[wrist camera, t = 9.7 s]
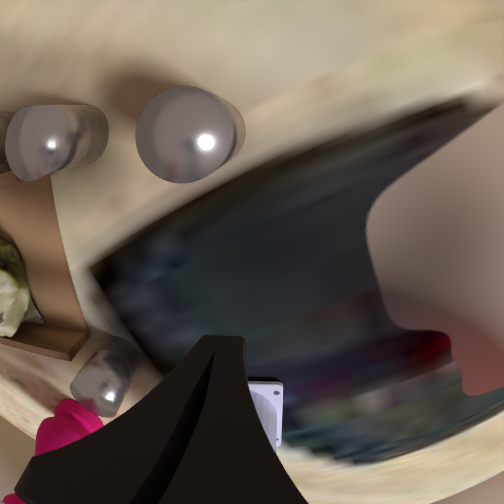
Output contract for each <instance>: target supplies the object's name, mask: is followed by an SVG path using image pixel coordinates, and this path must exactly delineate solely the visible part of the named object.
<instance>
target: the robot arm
mask: <svg viewBox="0 0 504 504" xmlns="http://www.w3.org/2000/svg"><path fill="white" fill-rule="evenodd" d="M275 391H278V392H275ZM282 404H283V384H282V383H280V382H263V381H248V375H247V362H246V349H245V339H244V338H242V337H241V336H212V335H203V336H202V337H201V338H200V339H199V341H198V342H197V343H196V344H195V345H194V346H193V348H192V349H191V350H190V351H189V352H188V353H187V355H186V356H185V357H184V358H183V359H182V360H181V361H180V362H179V364H178V365H177V366H176V367H175V368H174V369H173V370H172V371H171V372H170V373H169V374H168V375H167V376H166V377H165V378H164V379H163V380H162V381H161V382H160V383H159V384H158V385H157V386H156V387H155V388H154V389H153V390H151V391H150V392H149V393H148V394H147V395H146V396H145V397H144V398H142V399H141V400H140V401H139V402H138V403H136V404H135V405H134V406H133V407H131V408H130V409H129V410H127V411H126V412H125V413H123V414H122V415H120V416H119V417H117V418H116V419H114V420H113V421H111V422H109V423H108V424H106V425H105V426H103V427H101V428H100V429H98V430H96V431H94V432H93V433H91V434H89V435H87V436H85V437H83V438H81V439H79V440H77V441H74V442H72V443H70V444H68V445H65V446H63V447H60V448H57V449H55V450H52V451H49V452H46V453H43V454H40V455H37V456H34V457H32V458H31V460H30V462H29V463H28V465H27V467H26V469H25V470H24V472H23V474H22V476H21V477H20V479H19V481H18V483H17V485H16V487H15V489H14V491H15V493H16V495H17V496H18V497H19V498H20V499H21V500H22V501H23V502H25V503H26V504H308V502H307V501H306V500H305V499H304V497H303V496H302V494H301V493H300V492H299V490H298V489H297V487H296V486H295V484H294V483H293V481H292V480H291V478H290V477H289V475H288V474H287V472H286V471H285V469H284V467H283V465H282V464H281V462H280V460H279V458H278V456H277V455H276V447H278V446H280V445H281V431H282ZM0 504H5V503H3V502H2V501H1V500H0Z"/></svg>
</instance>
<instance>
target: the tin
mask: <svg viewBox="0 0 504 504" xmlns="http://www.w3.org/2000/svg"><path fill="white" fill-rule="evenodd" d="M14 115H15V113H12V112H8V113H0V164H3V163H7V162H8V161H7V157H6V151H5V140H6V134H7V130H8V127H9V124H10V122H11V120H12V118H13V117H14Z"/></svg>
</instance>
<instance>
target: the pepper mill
mask: <svg viewBox="0 0 504 504" xmlns="http://www.w3.org/2000/svg"><path fill="white" fill-rule="evenodd" d="M54 415H55V417H49V418H46V419H44V420H43V421H42V423H41V424H40V426H39V428H38V431H37V435H36V448H35V456H37V455H40V454H43V453H46V452H49V451H52V450H55V449H57V448H60V447H63V446H65V445H68V444H70V443H72V442H74V441H77V440H79V439H81V438H83V437H85V436H87V435H89V434H91V433H93V432H94V431H96V430H98V429H100V428H101V427H103V426H104V425H103V423H102V421H101V420H100V419H99V418H98V416H97V415H96V414H94V413H92V412H90V411H88V410H87V409H85V408H84V407H83V406H82V405H80V404H79V403H78V402H75V401H73V400H69V399H65V400H62V401H60V403H59V404H58V406H57V407H56V409H55V410H54ZM2 502H3V503H5V504H26V503H25V502H23V501H22V500H21V499H20V498H19V497H18V496H17V495H16V493H14V494H9V495H7V496H5V498H4V499H3V501H2Z"/></svg>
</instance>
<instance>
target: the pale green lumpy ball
mask: <svg viewBox="0 0 504 504" xmlns="http://www.w3.org/2000/svg"><path fill="white" fill-rule="evenodd" d="M22 321H28V322H36V323H41V324H42V323H43V322H44V320H43V318H42V317H41V316H40V314H39V312H38V311H37V309H36V307H35V306H34V304H33V302H32V299H31V296H30V292H29V284H28V278H27V274H26V272H25V269H24V267H23V264H22V262H21V259H20V257H19V254H18V252H17V249H16V248H15V247H14V245H13V244H12V243H10V242H8V241H6V240H4V239H2V238H1V237H0V336H8V337H12V336H13V335H14V333H15V332H16V331H17V330H18V327H19V325H20V323H21V322H22Z"/></svg>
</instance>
